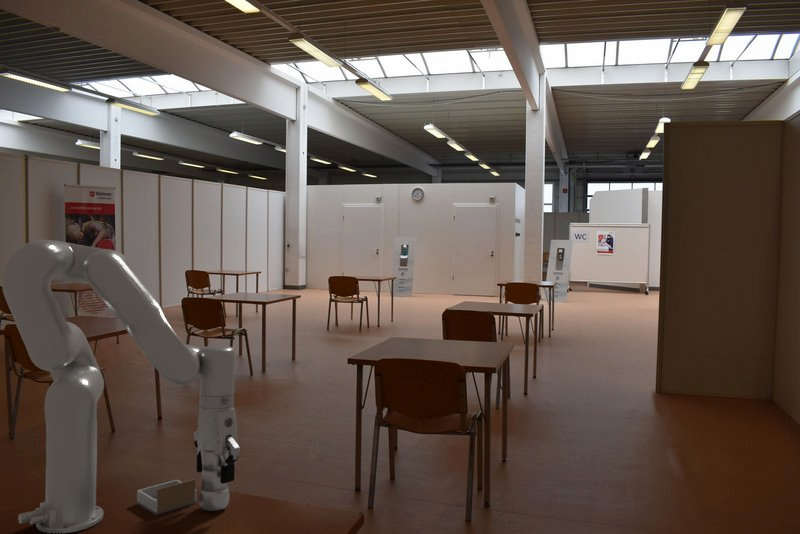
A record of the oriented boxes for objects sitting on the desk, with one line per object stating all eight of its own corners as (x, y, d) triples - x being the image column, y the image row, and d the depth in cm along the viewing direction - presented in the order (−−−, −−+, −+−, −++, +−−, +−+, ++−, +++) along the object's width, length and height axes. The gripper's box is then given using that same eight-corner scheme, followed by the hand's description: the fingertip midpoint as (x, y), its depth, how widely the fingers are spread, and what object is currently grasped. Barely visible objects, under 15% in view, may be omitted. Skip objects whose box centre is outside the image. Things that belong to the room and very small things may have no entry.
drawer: (155, 515, 136) (156, 490, 136) (136, 503, 142) (137, 479, 142) (196, 502, 143) (197, 478, 143) (176, 492, 149) (177, 469, 149)
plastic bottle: (220, 516, 137) (223, 425, 136) (192, 512, 138) (195, 423, 138) (234, 504, 143) (236, 418, 143) (207, 501, 144) (209, 416, 144)
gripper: (253, 405, 137) (251, 482, 137) (210, 392, 148) (208, 463, 149) (223, 411, 131) (221, 491, 132) (181, 396, 143) (179, 470, 143)
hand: (215, 476), depth 140 cm, fingers open, 9 cm apart
